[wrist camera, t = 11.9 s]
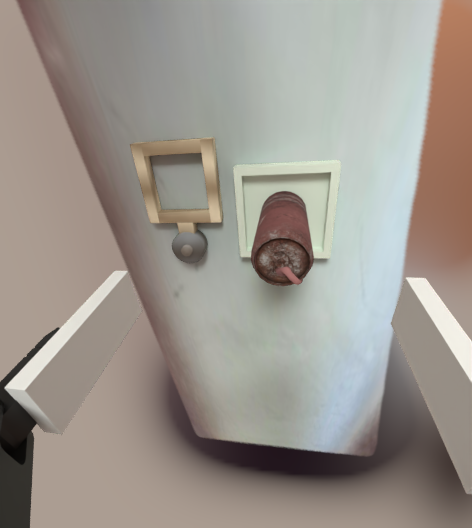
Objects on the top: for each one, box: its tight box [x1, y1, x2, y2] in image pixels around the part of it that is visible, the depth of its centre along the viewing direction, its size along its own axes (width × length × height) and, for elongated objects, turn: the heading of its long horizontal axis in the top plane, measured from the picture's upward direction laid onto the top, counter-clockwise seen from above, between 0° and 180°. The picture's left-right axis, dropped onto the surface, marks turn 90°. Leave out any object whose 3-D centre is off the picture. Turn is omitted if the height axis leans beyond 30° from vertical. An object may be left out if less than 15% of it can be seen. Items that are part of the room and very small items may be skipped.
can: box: [251, 191, 314, 286], centre depth 31 cm, size 6×6×14 cm
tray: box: [233, 160, 341, 258], centre depth 37 cm, size 13×13×2 cm
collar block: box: [130, 137, 223, 263], centre depth 38 cm, size 18×11×3 cm, turn 5°
